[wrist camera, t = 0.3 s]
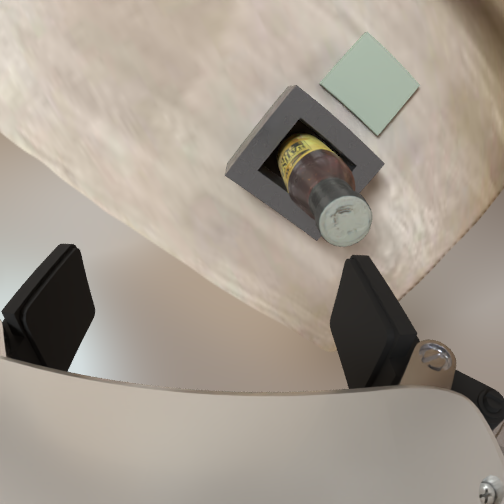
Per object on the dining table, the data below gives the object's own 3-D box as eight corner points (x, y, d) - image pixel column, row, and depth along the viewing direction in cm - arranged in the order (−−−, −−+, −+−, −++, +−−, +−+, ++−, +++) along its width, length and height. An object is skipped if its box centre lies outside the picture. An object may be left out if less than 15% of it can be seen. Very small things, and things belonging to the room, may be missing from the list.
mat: (364, 32, 29) (367, 31, 29) (416, 85, 32) (419, 85, 32) (319, 83, 33) (320, 83, 32) (375, 134, 36) (377, 135, 35)
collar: (288, 86, 33) (296, 85, 28) (366, 153, 37) (384, 163, 32) (227, 163, 38) (224, 175, 33) (307, 220, 42) (316, 240, 37)
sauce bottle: (282, 125, 36) (321, 157, 18) (329, 139, 37) (402, 185, 19) (268, 174, 39) (291, 248, 21) (314, 185, 40) (368, 264, 22)
